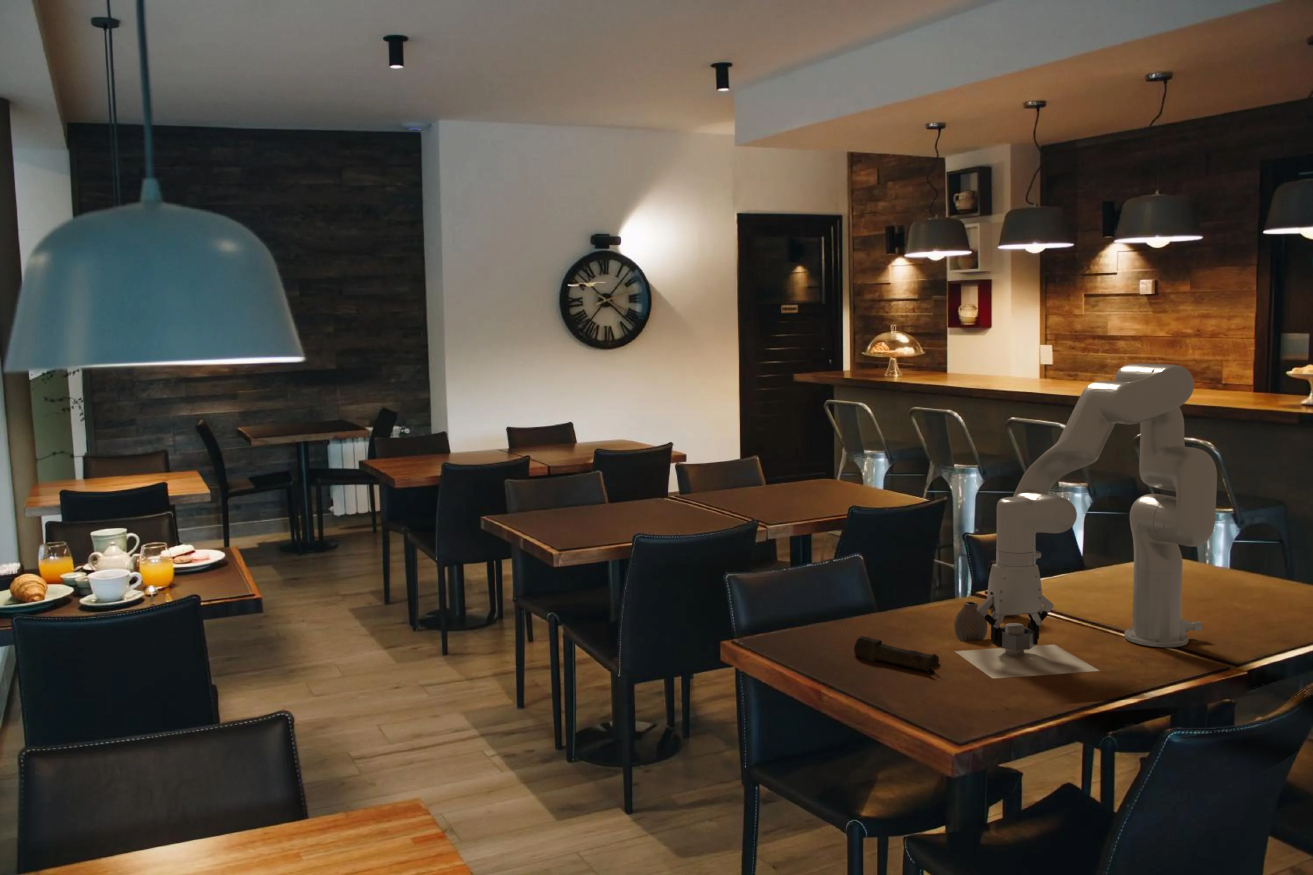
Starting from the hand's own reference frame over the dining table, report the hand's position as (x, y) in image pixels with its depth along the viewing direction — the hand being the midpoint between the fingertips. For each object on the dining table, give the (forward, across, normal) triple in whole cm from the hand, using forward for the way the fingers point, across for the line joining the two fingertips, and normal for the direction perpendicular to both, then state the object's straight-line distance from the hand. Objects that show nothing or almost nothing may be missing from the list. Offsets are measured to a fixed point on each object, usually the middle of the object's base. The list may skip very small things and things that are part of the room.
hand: (1014, 643), depth 226 cm
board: (+4, 0, +4) cm, 6 cm away
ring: (0, 0, 0) cm, 0 cm away
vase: (+4, +3, -14) cm, 15 cm away
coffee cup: (+4, -14, -34) cm, 36 cm away
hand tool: (+4, +25, -3) cm, 25 cm away
